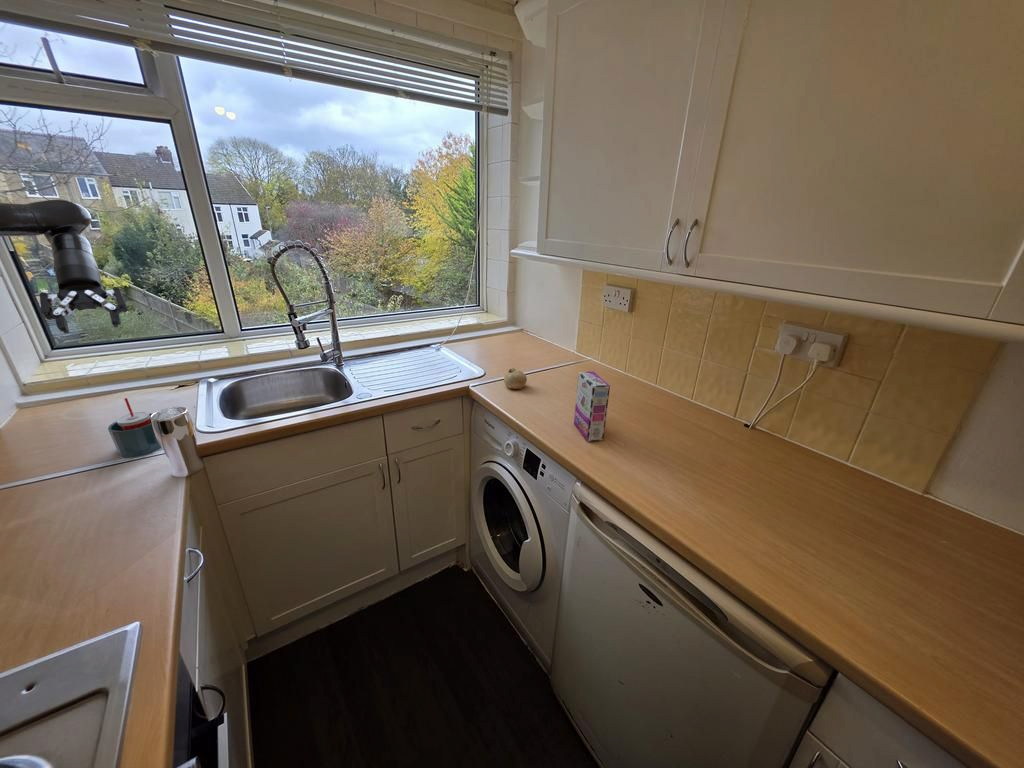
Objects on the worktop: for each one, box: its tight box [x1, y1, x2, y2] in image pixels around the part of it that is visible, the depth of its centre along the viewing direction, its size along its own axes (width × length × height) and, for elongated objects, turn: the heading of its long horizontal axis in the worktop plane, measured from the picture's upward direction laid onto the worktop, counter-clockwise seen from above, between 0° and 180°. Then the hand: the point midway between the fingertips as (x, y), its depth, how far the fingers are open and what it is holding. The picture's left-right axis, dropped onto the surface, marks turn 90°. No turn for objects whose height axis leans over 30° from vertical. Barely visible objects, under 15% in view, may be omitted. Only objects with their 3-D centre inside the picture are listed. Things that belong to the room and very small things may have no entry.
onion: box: [503, 367, 528, 390], centre depth 142 cm, size 8×8×7 cm
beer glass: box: [150, 406, 205, 478], centre depth 92 cm, size 7×7×15 cm
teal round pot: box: [107, 412, 162, 458], centre depth 101 cm, size 10×10×8 cm
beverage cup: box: [115, 397, 150, 431], centre depth 99 cm, size 6×6×14 cm
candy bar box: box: [573, 371, 611, 443], centre depth 111 cm, size 11×5×16 cm, turn 12°
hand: (91, 328), depth 95 cm, fingers open, 8 cm apart
